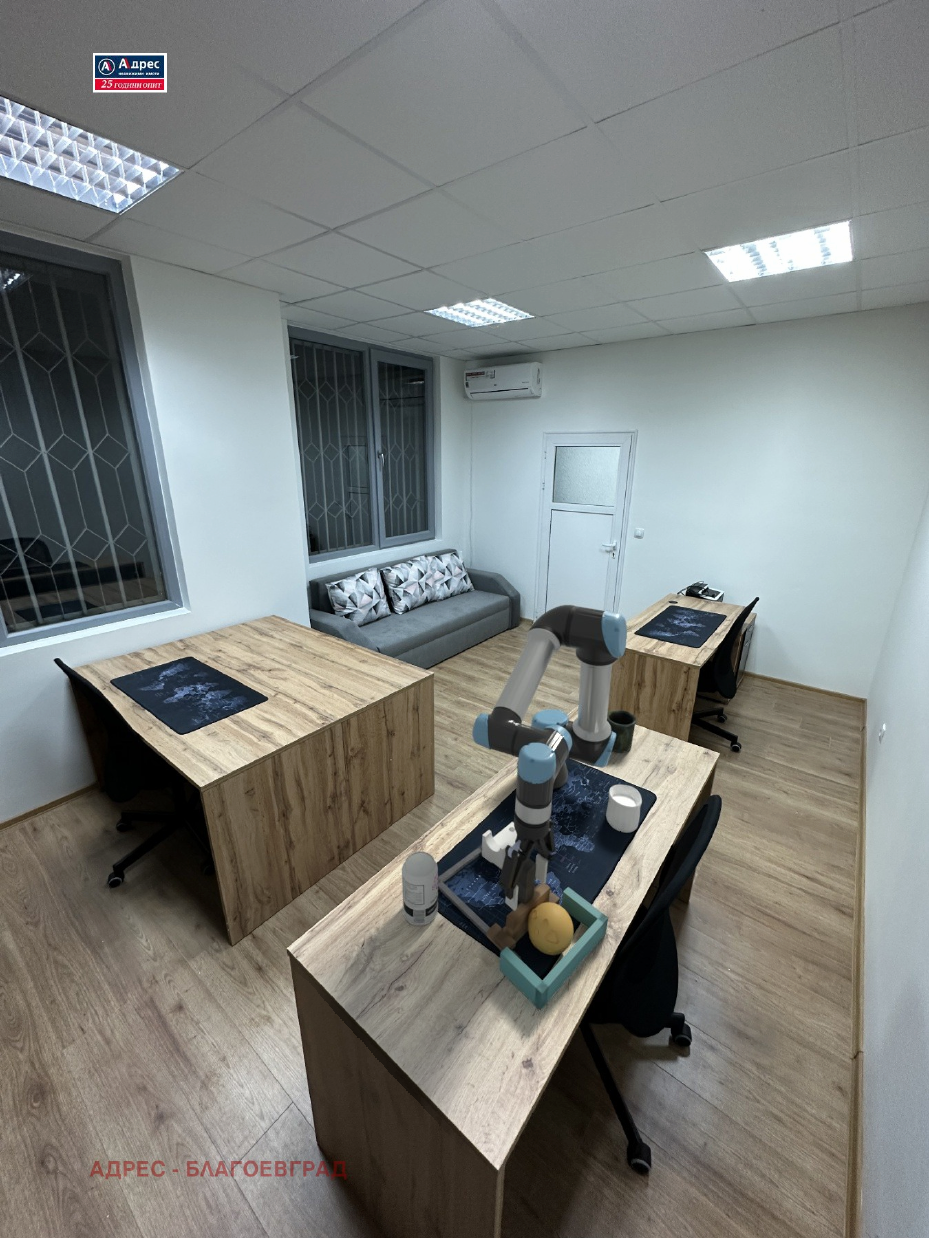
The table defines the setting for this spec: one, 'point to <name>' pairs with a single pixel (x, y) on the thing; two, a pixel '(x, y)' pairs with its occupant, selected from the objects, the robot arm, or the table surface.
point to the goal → (545, 989)
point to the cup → (623, 808)
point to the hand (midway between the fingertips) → (526, 892)
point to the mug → (622, 729)
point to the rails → (456, 899)
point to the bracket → (498, 844)
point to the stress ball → (550, 928)
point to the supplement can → (420, 888)
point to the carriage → (522, 908)
